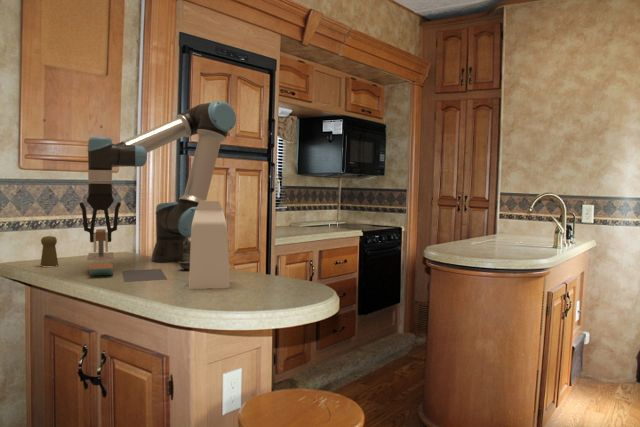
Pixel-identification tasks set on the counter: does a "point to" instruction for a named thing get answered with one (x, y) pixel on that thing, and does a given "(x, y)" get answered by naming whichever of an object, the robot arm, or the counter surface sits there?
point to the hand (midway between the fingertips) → (100, 251)
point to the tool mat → (143, 275)
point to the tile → (101, 269)
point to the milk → (209, 247)
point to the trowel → (100, 247)
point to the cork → (49, 251)
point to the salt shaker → (186, 255)
